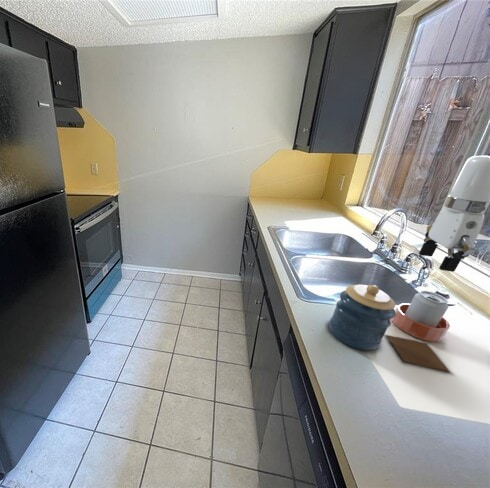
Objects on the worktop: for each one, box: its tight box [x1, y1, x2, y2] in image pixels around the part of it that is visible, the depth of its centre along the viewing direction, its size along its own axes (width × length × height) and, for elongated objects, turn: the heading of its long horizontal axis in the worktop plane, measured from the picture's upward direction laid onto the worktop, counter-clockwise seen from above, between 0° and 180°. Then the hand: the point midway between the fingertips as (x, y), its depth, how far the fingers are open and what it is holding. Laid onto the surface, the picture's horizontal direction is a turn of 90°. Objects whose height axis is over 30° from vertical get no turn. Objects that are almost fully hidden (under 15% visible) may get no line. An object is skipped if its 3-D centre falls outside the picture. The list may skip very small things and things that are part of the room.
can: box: [404, 290, 450, 328], centre depth 79 cm, size 8×8×12 cm
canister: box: [328, 284, 396, 351], centre depth 74 cm, size 13×13×18 cm
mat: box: [386, 334, 450, 373], centre depth 72 cm, size 10×10×1 cm
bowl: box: [391, 303, 451, 342], centre depth 81 cm, size 12×12×5 cm
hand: (435, 262), depth 75 cm, fingers open, 9 cm apart
